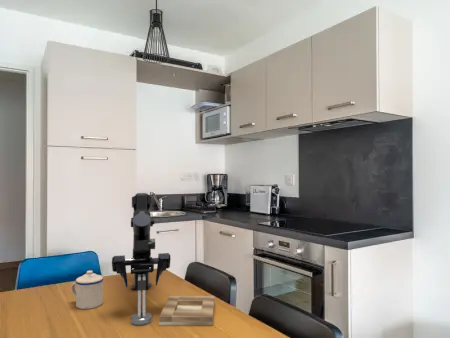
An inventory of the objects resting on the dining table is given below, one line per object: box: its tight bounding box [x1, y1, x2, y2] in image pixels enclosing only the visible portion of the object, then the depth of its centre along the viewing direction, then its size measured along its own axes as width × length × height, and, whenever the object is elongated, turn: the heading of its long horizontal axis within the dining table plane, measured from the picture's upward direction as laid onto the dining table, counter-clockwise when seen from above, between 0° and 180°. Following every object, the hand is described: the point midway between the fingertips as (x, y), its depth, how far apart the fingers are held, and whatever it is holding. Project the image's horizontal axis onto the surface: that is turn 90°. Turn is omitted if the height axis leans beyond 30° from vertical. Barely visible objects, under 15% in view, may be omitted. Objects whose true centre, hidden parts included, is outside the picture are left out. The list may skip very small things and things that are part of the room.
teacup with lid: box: [70, 270, 104, 310], centre depth 120 cm, size 12×9×12 cm
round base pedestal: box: [130, 274, 153, 327], centre depth 106 cm, size 6×6×14 cm
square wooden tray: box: [158, 295, 216, 327], centre depth 112 cm, size 18×16×2 cm
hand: (141, 285), depth 109 cm, fingers open, 9 cm apart
